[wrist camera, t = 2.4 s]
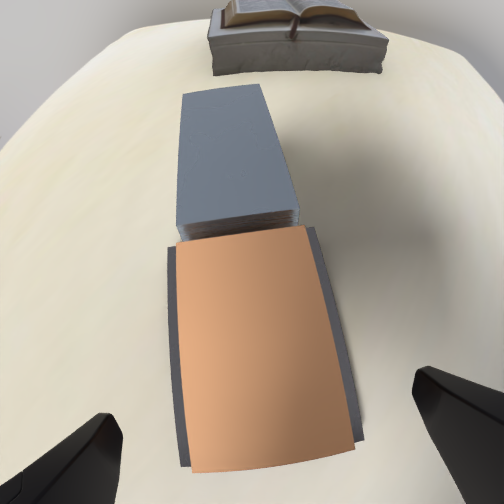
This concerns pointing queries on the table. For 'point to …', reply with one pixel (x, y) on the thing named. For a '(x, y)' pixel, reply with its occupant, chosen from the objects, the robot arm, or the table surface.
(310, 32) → the bible
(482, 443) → the robot arm
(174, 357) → the stand
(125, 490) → the table surface
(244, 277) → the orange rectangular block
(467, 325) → the table surface
